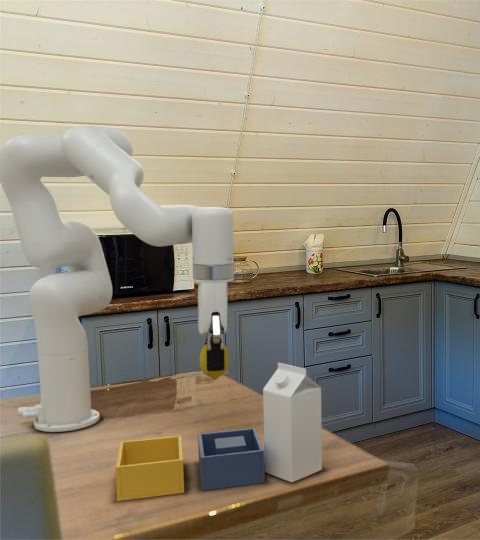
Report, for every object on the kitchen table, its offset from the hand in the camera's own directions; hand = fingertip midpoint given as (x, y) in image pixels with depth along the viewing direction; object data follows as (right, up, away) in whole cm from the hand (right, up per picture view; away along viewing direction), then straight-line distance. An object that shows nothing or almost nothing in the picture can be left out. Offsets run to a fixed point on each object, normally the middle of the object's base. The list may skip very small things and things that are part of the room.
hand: (214, 365), depth 139 cm
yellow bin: (-6, -18, -17) cm, 25 cm away
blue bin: (+6, -17, -13) cm, 22 cm away
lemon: (0, -3, 0) cm, 3 cm away
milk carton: (+17, -17, -12) cm, 27 cm away
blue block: (+6, -17, -13) cm, 22 cm away
